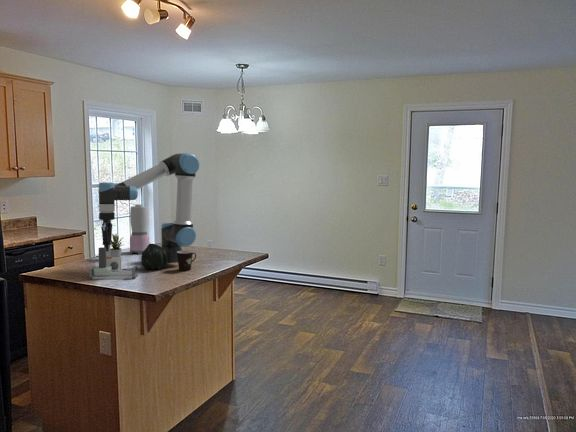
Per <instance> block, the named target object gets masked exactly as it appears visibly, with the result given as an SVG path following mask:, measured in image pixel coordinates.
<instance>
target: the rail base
mask: <svg viewBox="0 0 576 432" xmlns="http://www.w3.org/2000/svg"><path fill="white" fill-rule="evenodd" d="M96 267H97V265H96V266H95V265H94V266H92V267H90V268H88V280H131V279H133V280H134V279H137V277H138V276H139V266H138V265H135V266H133V267H132V268H131V270H121V271H109V275H94V268H96Z"/></svg>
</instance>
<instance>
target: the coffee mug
mask: <svg viewBox="0 0 576 432" xmlns="http://www.w3.org/2000/svg"><path fill="white" fill-rule="evenodd" d="M193 255H194V258H193ZM177 257H178V262H177V263H178V265H177V266H178V271H179V272H189V271H191V269H192V263H193V262H194V261H195V260H196V258H197V254H196V253H195V252H193V251H192V250H182V251H178V252H177Z"/></svg>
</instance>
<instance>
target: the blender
mask: <svg viewBox="0 0 576 432" xmlns="http://www.w3.org/2000/svg"><path fill="white" fill-rule="evenodd" d="M129 213H130V214H129V217H130V218H129V221H130V228H131V235H130V236H129V253H130V254H131V255H133V253H137V254H138V255H142V253H143V252H144V250H145V249H146V248H147V246H148V245H149V244H150V237H149V234H148V227H149V207H148V206H146V205H144V204H141V203H140V204H139V203H137V204H134V205H132V206H130V212H129Z"/></svg>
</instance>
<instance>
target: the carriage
mask: <svg viewBox="0 0 576 432" xmlns="http://www.w3.org/2000/svg"><path fill="white" fill-rule="evenodd" d="M111 269H112V266H106V247H104V246H103V247H98V265H96V268H94V275H109V271H111Z"/></svg>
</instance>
